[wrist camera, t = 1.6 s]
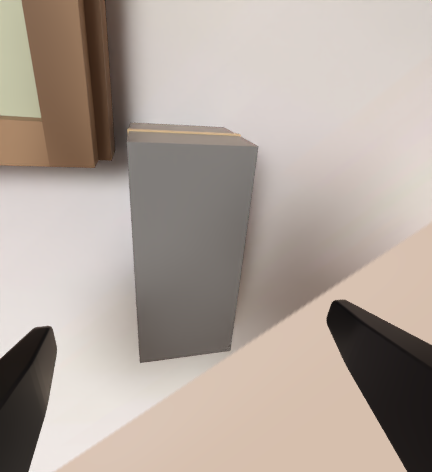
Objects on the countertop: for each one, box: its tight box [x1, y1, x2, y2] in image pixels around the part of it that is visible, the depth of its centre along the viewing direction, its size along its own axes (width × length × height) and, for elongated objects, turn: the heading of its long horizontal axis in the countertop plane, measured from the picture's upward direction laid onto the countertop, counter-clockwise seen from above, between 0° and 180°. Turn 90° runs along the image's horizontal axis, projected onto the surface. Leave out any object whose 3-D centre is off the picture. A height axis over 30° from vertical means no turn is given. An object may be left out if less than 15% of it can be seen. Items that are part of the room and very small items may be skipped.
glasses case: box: [127, 122, 258, 363], centre depth 14 cm, size 4×10×5 cm, turn 176°
